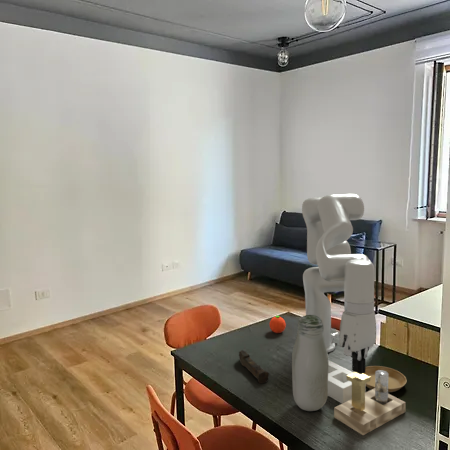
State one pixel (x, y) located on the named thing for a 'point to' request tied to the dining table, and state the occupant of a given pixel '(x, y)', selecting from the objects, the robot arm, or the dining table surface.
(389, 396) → the socket block
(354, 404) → the gold square peg
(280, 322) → the clementine
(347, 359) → the dining table surface
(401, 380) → the plant saucer
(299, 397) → the glass bottle
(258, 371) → the hand tool
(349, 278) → the robot arm
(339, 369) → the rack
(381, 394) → the clear glass vial
